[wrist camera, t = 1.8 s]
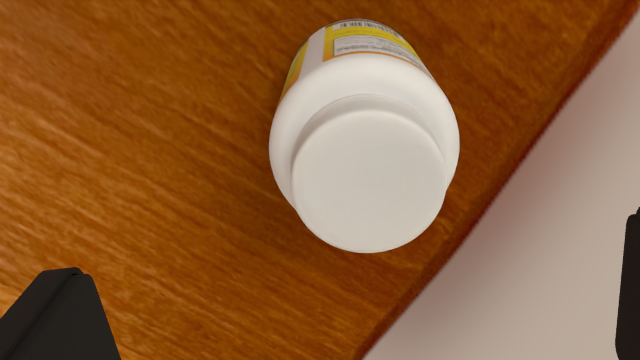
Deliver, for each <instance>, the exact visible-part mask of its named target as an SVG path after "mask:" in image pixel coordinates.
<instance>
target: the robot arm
mask: <svg viewBox="0 0 640 360" xmlns="http://www.w3.org/2000/svg"><path fill="white" fill-rule="evenodd" d="M615 347H616V352H617V356H618V358H619V360H640V207H639V209H638V210H637V213H636V214H633V215H630V216H629V217H628V219H627V223H626V232H625V243H624V254H623V265H622V275H621V285H620V296H619V307H618V317H617V328H616V339H615ZM0 360H121V358H120V355H119V352H118V349H117V346H116V344H115V341H114V338H113V335H112V332H111V329H110V326H109V323H108V321H107V318H106V315H105V312H104V309H103V306H102V303H101V300H100V298H99V295H98V292H97V289H96V286H95V283H94V281H93V279H92V277H91V276H90V275H88V274H83V272H82V271H81V270H80V269H79V268H77V267H72V268H63V269H54V270H46V271H42V272H41V273H40V274H39V275H38V276H37V277H36V278H35V279H34V281H33V282H32V283H31V284H30V285H29V286H28V288H27V289H26V290H25V291H24V292H23V293H22V294H21V296H20V297H19V298H18V299H17V300H16V301H15V303H14V304H13V305H12V306H11V307H10V308H9V310H8V311H7V312H6V313H5V314H4V315H3V317H2V318H1V319H0Z"/></svg>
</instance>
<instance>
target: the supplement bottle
mask: <svg viewBox="0 0 640 360" xmlns="http://www.w3.org/2000/svg"><path fill="white" fill-rule="evenodd" d="M458 156H459V131H458V126H457V121H456V118H455V115H454V112H453V110H452V107H451V105H450V103H449V101H448V99H447V98H446V96H445V94H444V93H443V91H442V90H441V88H440V87H439V85H438V84H437V83H436V81H435V80H434V78H433V77H432V75H431V74H430V73H429V71H428V70H427V68H426V67H425V65H424V64H423V62H422V61H421V60H420V58H419V57H418V55H417V54H416V52H415V51H414V49H413V48H412V47H411V45H410V44H409V43H408V42H407V41H406V40H405V39H404V38H403V37H402V36H401V35H400V34H398V33H397V32H396V31H394V30H393V29H391V28H389V27H388V26H385V25H383V24H381V23H378V22H375V21H371V20H365V19H349V20H342V21H338V22H335V23H332V24H330V25H327V26H325V27H323V28H321V29H320V30H318V31H317V32H315V33H314V34H313V35H312V36H310V37H309V38H308V39H307V40H306V41H305V43H304V44H303V45H302V46H301V47H300V49H299V50H298V52H297V54H296V55H295V57H294V59H293V62H292V64H291V67H290V70H289V73H288V76H287V79H286V82H285V85H284V88H283V91H282V94H281V97H280V100H279V103H278V106H277V109H276V112H275V115H274V119H273V122H272V127H271V132H270V139H269V158H270V163H271V168H272V171H273V174H274V178H275V180H276V182H277V185H278V187H279V189H280V190H281V192H282V193H283V195H284V197H285V198H286V199H287V201H288V202H289V203H290V204H291V205H292V206H293V207H294V208H295V209H296V211H297V213H298V215H299V216H300V218H301V219H302V221H303V222H304V223H305V225H306V226H307V227H308V228H309V229H310V230H311V231H312V232H313V233H314V234H315V235H316V236H317V237H319V238H320V239H322V240H323V241H325V242H327V243H328V244H330V245H332V246H334V247H337V248H340V249H343V250H347V251H351V252H358V253H376V252H383V251H387V250H391V249H394V248H397V247H400V246H402V245H404V244H406V243H408V242H410V241H411V240H413V239H414V238H416V237H417V236H419V235H420V234H421V233H422V232H423V231H424V230H425V229H426V228H427V227H428V226H429V225H430V224H431V223H432V221H433V220H434V219H435V217H436V216H437V214H438V212H439V210H440V208H441V206H442V203H443V201H444V196H445V192H446V190H447V188H448V186H449V184H450V182H451V180H452V178H453V176H454V173H455V169H456V166H457V162H458Z"/></svg>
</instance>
